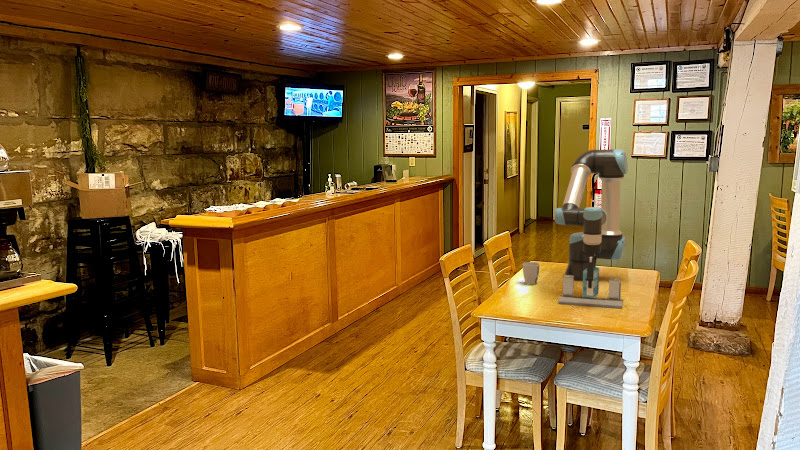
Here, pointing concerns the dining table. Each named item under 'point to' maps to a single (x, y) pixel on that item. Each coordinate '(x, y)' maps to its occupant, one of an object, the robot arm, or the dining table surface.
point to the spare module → (619, 290)
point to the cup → (531, 272)
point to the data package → (595, 285)
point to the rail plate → (598, 302)
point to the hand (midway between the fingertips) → (590, 291)
